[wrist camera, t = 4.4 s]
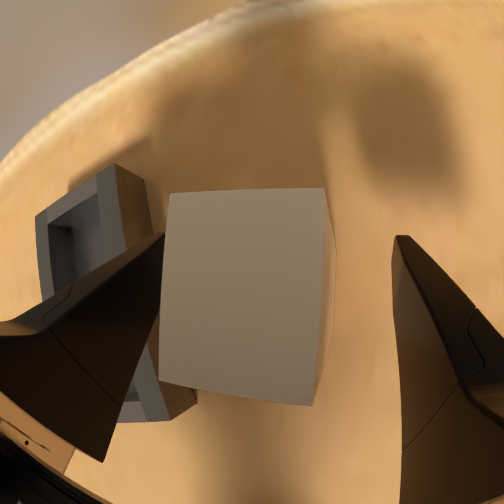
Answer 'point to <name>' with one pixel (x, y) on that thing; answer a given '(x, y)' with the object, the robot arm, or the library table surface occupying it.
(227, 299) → the pale grey rectangular block
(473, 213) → the library table surface
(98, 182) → the grey rectangular tray
